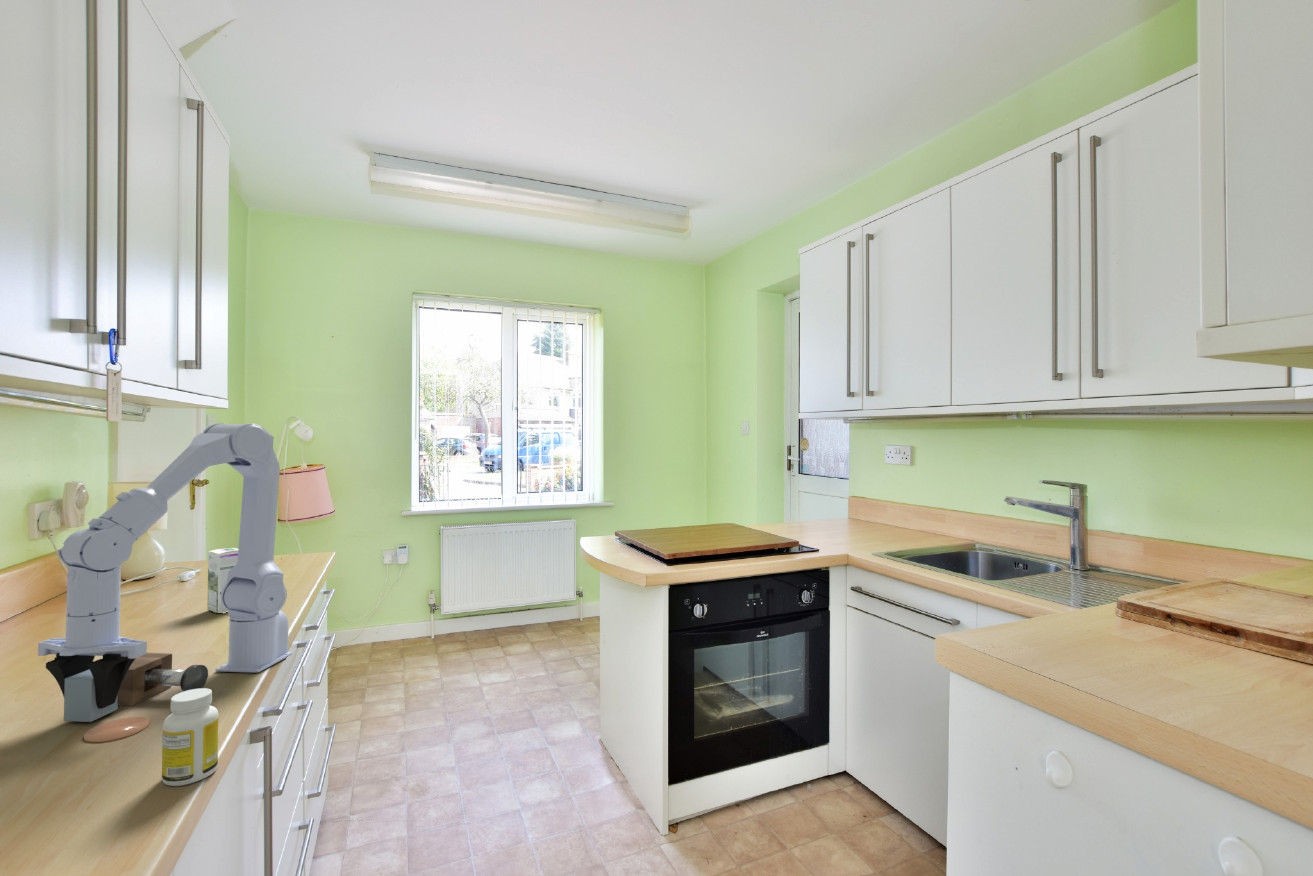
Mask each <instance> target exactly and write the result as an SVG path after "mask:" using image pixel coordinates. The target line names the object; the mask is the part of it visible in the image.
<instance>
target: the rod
mask: <svg viewBox="0 0 1313 876" xmlns="http://www.w3.org/2000/svg"><path fill="white" fill-rule="evenodd" d="M208 678H209V670H208V667H207V666H206V665H203V664H192V665H190V666H188V667H187V668H186V669H172V670H171V669H149V670H147V671H145V684H144V685H157V686H171V687H180V689H181V690H182V692H184V691H187V690H192V689H199V688H204V686H205V685H206V683H207V680H208Z"/></svg>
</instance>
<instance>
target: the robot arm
mask: <svg viewBox="0 0 1313 876" xmlns="http://www.w3.org/2000/svg"><path fill="white" fill-rule="evenodd" d="M223 464H227V465H229V466H230V467H232V468H233V470H235V471H236V472H237V473H239V474H240V475H241V476H242V477H243V481H242V482H243V483H242V492H241V493H242V496H241V509H240V510H241V511H240V520H239V521H240V522H239V537H238V538H239V539H238V548H237V549H238V562H237V564H236V565H235V566H234V567H233V568H232V569H231V570H230V571H229V572H228V578H227V582H226V584H225V586H224V588H223V590H222V592H221V603H222V605H223V606H224V607H225V608H226V609H227V610H228V613H227V615H228V617H229V619H228V620H229V622H228V624H229V625H228V626H229V627H228V654H227V655H228V656H227V657H228V659H227V660H228V661H227V663H224V664H222V665H220V666H218V667H216V668H215V670H214V671H215V672H222V673H223V672H225V673H227V672H231V673H254V674H255V673H259V672H262V671H264V670H265V669H268V668H269V667H271V666H273V665H275V664H277V663H279V662H280V661H282V660H284V659H286V658H288V657H290V656H291V655H293V651H289V626H290V625H289V623H290V622H289V619H288V616H287V615H286V613H285V612H284V611H282V609H283V608H284V606H285V604H286V602H287V598H288V593H287V592H288V591H287V589H286V586H285V584H284V572H283V571H282V570H281V568H280V567H279V566H278V565H277V563H275V562H274V560H275V557H274V556H275V542H276V529H277V516H278V515H277V513H278V499H279V486H280V485H279V484H280V472H281V471H280V470H281V469H280V462H279V460H278V458H277V455H276V453H275V449H274V436H273V435H272V434H271V433H269V431H267V430H266V429H265V428H264V427H263V426H261V425H259V424H258V423H253V422H252V423H250V422H249V423H244V424H243V423H241V424H240V423H239V424H238V423H236V424H235V423H232V424H231V423H229V424H227V423H222V422H221V423H219V422H218V423H213V424H211V425H208V426H207V427H206V428H205V429H204V430H203V431H202V432H201V433H199V434H197V435H196V436H194V437H193V439H192V441H191V443H190V444H189V445H188V446H187V447H186V448H185V450H183V451H182V452H181V453H180V454H179V455H178V456H176V458H175V459H174V460H173V461H172V462H171V463H170V464H169V465H168V466H167V467H166V468H164V470H162V471H161V473H159V475H158V476H156V478H154V479H153V480H152V482H150V483H149V484H148V485H147V487H137V488H132V489H130V490H128V491H121V492H120V493H119V494H118V495H117V496H116V497H115V499H116V500H117V501H116V502H115V503H114V504H113V505H112V506H110V507H109V508H108V509H107V510H106V511H105V512H103V514H101V515H100V516H99V517H98V518H95V517H94V518H91V520H89V521H88V522H87V524H88V528H83V529H81V530H80V529H79V530H76V531H74V532H72V533H71V534H70V535H69V536H68V537H67V538H66V539H65V540H64V542H63V543H62V544H63V546H61V548H60V549H58V550H57V556H58V559H59V560H60V561H61V562H62V563H63V564H64V565H65V566H66V567H67V583H66V605H65V606H66V610H65V611H66V612H65V613H66V614H65V615H66V617H65V637H61V638H60V637H58V638H57V637H54V638H50V639H49V638H48V639H45V640H42V641H40V642H39V641H38V643H37V645H38V648H37V656H39V657H45V656H49V655H55V657H54V659H52V660H50V661H47V662H46V663H45V669H46V670H47V671H49V673H50V674H51V675H52V676H53V677H54V680H56V683H57V684H58V686H59V688H60V690H61V693H62V696H63V697H64V692H65V678H68V677H71V676H73V675H76V674H78V673H81V672H84V671H86V670H89V669H90V671H91V673H92V676H93V679H94V683H95V690H96V704H97V707H98V708H99V709H102V708H105V707H107V706H109V705H111V704H114V703H115V701H116V698H117V694H118V691H119V689H120V686H121V683H122V681H123V679H124V676H125V674H126V673H127V671H128V669H129V668H130V666H131V664H132V663H133V661H134V660H135V659H136V658H137V657H140V656H142V655H145V654H146V653H147V649H148V647H147V646H148V645H147V644H148V643H147V640H139V639H133V638H129V637H124V636H122V635H120V629H121V627H120V625H121V624H120V622H121V621H120V620H121V586H122V585H121V582H122V581H121V580H122V579H121V578H122V576H121V575H122V572H121V571H122V564H123V563H125V562H127V561H128V559H129V558H130V557H131V554H132V551H133V545H134V544H135V542H136V541H137V540H139V539H140V538H141V537H142V536H143V535H144V534H145V533H147V531H148V530H149V529H150V528H151V527H152V526H153V525H154V524H156V523H157V522H158V521H159V520H160V519H161V518H162V517H163V516H164V515H166V514H167V512H168V508H169V507H168V505H169V504H168V501H169V500H170V499H171V498H173V496H175V495H176V494H177V493H178V492H180V491H181V490H182V489H183V488H185V487H186V486H187V485H189V484H190V482H192V481H193V480H194V479H195V478H197V477H198V476H199V475H201V474H202V473H203V472H204V471H206V469H208V468H209V467H211V466H217V465H223ZM97 656H98V657H100V656H101V657H102V658H98V659H97V660H95V658H96V657H97Z"/></svg>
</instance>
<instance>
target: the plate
mask: <svg viewBox="0 0 1313 876" xmlns="http://www.w3.org/2000/svg"><path fill="white" fill-rule="evenodd" d="M148 726H150V719H149V718H147V717H143V716H132V717H131V716H130V717H124V718H117V719H114V720H110V721H107V722H105V723H104V722H103V723H102V724H98V725H96V726H94V727H92V728H90V729H88V730H87V731H86V732H85V733H84V735H83V739H84V741H85V742H88V743H107V742H111V741H116V740H120V739H124V738H127V737H131V736H133V735H135V734H138V733H139V732H142V731H144V730H145V729H146V728H148Z"/></svg>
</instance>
